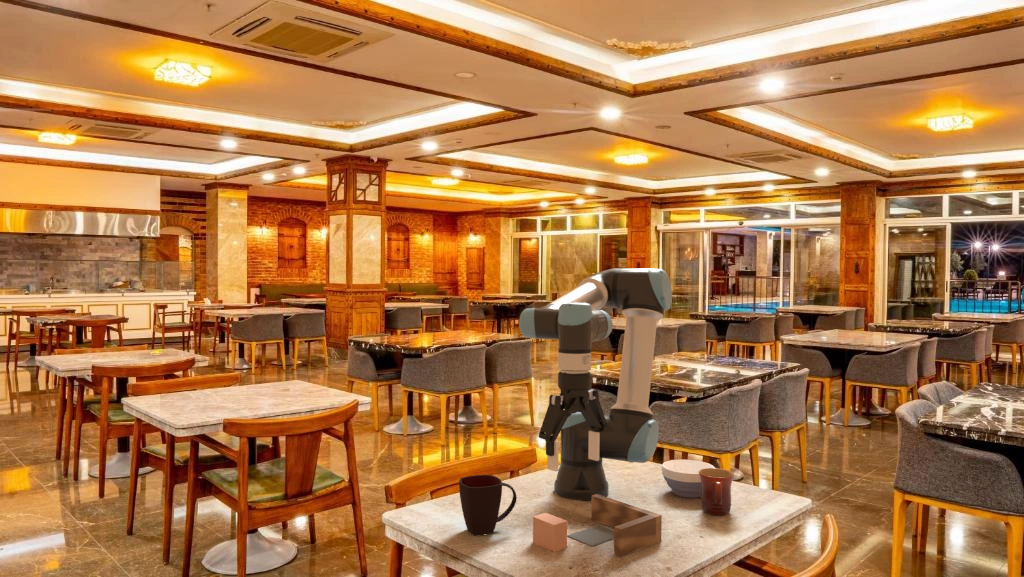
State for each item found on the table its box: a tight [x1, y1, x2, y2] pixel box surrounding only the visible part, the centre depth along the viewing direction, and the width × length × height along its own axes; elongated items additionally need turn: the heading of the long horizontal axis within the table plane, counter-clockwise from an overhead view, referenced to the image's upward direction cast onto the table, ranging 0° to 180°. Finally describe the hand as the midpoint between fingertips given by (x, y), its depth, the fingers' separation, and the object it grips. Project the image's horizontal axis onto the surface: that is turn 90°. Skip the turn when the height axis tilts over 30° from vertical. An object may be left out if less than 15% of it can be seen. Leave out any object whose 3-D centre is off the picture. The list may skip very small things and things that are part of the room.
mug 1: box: [458, 474, 517, 536], centre depth 169 cm, size 10×14×12 cm
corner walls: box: [590, 494, 663, 558], centre depth 166 cm, size 20×14×6 cm
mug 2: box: [699, 467, 735, 517], centre depth 180 cm, size 12×9×10 cm
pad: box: [567, 524, 614, 547], centre depth 166 cm, size 8×11×1 cm
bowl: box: [661, 459, 716, 499], centre depth 198 cm, size 14×14×8 cm
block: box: [532, 512, 568, 552], centre depth 160 cm, size 7×4×6 cm, turn 40°
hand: (573, 464), depth 161 cm, fingers open, 13 cm apart
